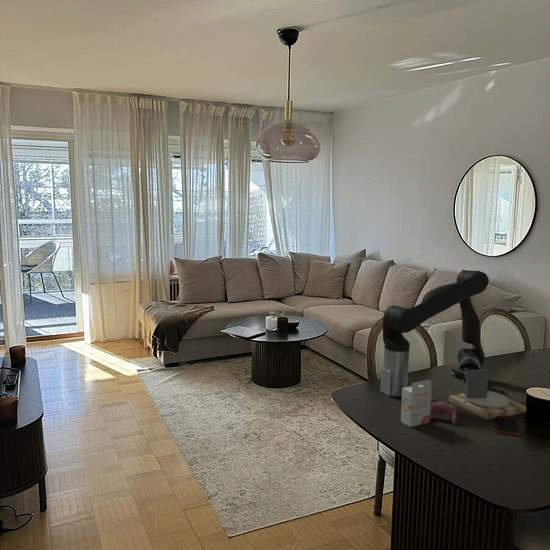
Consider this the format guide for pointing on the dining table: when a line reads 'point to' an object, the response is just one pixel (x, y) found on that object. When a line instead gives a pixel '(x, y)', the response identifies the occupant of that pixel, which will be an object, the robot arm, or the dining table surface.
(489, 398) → the grey panel on disc
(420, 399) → the ink cartridge box
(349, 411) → the dining table surface
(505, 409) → the dial base
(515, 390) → the dining table surface
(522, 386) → the dining table surface
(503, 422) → the smartphone
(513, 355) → the dining table surface
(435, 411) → the video game controller
